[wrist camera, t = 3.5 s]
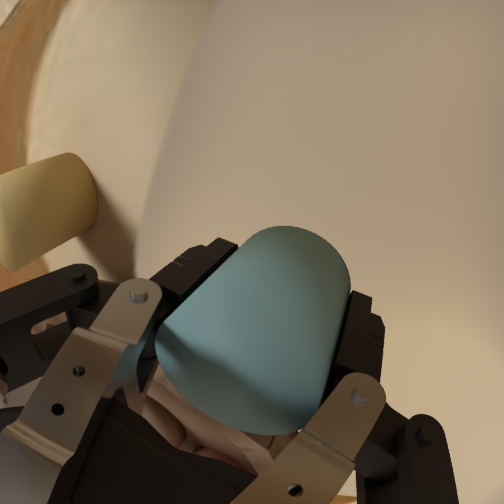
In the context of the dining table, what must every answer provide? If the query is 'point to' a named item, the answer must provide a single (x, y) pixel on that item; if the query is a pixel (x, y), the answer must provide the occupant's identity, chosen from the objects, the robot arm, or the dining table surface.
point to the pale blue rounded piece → (260, 333)
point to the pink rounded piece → (217, 456)
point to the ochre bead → (44, 207)
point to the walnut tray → (197, 421)
